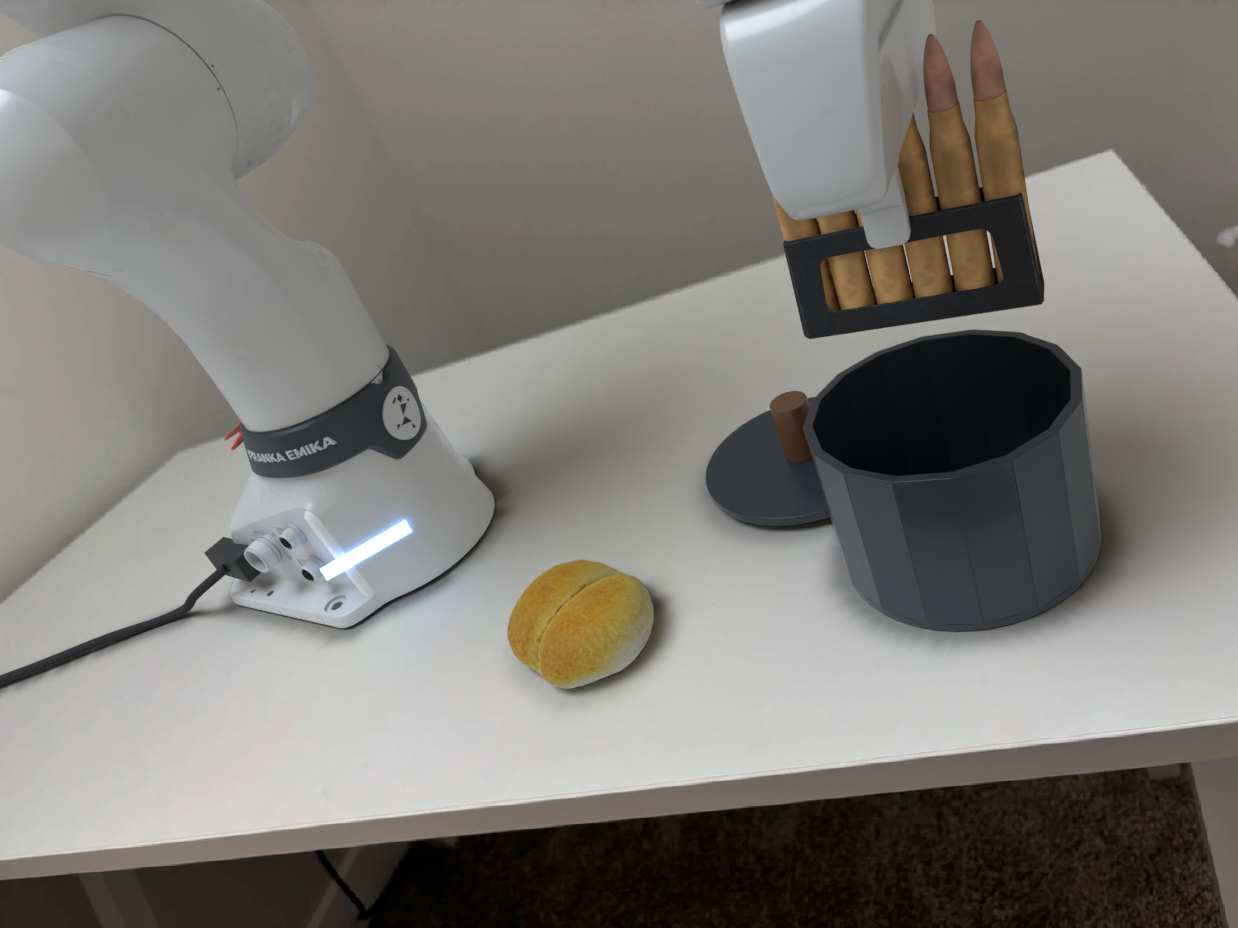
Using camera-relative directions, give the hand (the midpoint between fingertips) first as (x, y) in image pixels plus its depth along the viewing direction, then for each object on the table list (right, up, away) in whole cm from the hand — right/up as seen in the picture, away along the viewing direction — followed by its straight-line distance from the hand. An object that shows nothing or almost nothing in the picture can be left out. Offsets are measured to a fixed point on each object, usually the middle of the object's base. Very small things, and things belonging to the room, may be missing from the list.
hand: (897, 224), depth 42 cm
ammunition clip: (+2, -4, +2) cm, 5 cm away
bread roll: (-14, -21, +14) cm, 29 cm away
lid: (0, -10, +20) cm, 23 cm away
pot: (+7, -15, +9) cm, 19 cm away
